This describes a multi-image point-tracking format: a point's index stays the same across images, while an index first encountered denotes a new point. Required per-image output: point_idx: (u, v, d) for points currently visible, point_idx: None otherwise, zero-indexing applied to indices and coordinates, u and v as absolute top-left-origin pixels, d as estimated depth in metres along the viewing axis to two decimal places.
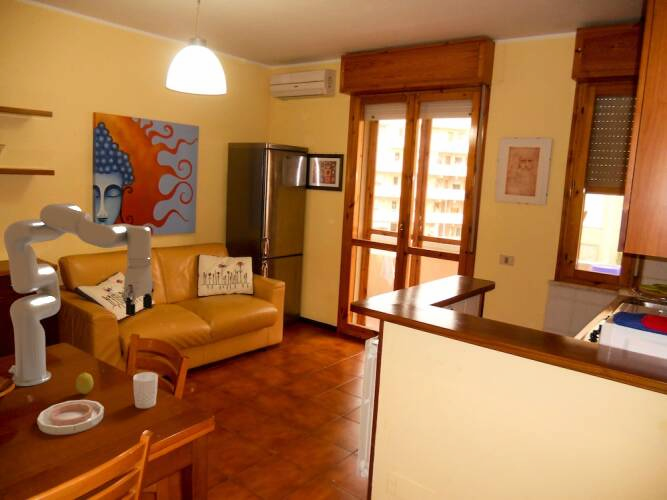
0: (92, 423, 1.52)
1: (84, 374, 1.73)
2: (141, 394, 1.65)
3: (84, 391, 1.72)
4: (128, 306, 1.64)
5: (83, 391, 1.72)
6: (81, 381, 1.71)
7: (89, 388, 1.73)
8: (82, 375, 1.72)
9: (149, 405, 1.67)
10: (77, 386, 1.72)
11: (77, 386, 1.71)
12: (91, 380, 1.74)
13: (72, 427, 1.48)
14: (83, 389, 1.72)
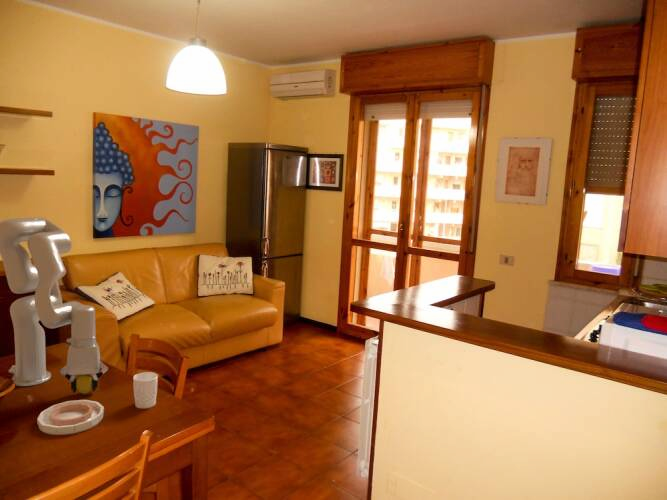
0: (92, 423, 1.52)
1: None
2: (141, 394, 1.65)
3: (84, 391, 1.72)
4: (97, 381, 1.75)
5: (83, 391, 1.72)
6: (81, 381, 1.71)
7: (89, 388, 1.73)
8: (82, 375, 1.72)
9: (149, 405, 1.67)
10: (77, 386, 1.72)
11: (77, 386, 1.71)
12: (91, 380, 1.74)
13: (72, 427, 1.48)
14: (83, 389, 1.72)
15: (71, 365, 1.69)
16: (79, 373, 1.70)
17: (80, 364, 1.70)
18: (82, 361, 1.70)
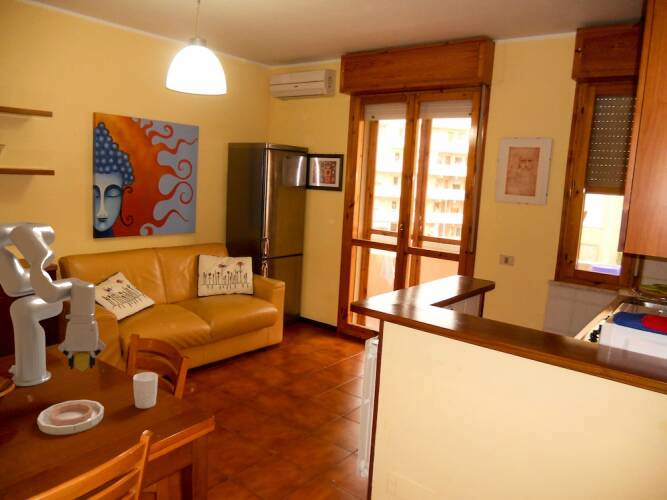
0: (92, 423, 1.52)
1: (82, 351, 1.72)
2: (141, 394, 1.65)
3: (81, 368, 1.71)
4: (95, 358, 1.74)
5: (80, 368, 1.71)
6: (78, 358, 1.70)
7: (87, 365, 1.72)
8: (80, 352, 1.71)
9: (149, 405, 1.67)
10: (75, 363, 1.71)
11: (75, 363, 1.71)
12: (89, 357, 1.73)
13: (72, 427, 1.48)
14: (80, 366, 1.71)
15: (69, 342, 1.68)
16: (77, 350, 1.69)
17: (78, 341, 1.69)
18: (80, 338, 1.69)
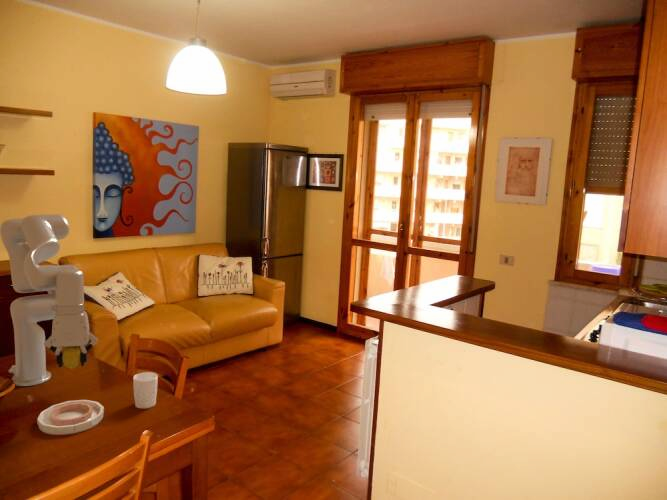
0: (92, 423, 1.52)
1: None
2: (141, 394, 1.65)
3: (71, 365, 1.53)
4: (86, 354, 1.56)
5: (70, 365, 1.53)
6: (67, 354, 1.52)
7: (77, 362, 1.54)
8: (69, 347, 1.53)
9: (149, 405, 1.67)
10: (63, 359, 1.53)
11: (64, 359, 1.52)
12: (79, 353, 1.55)
13: (72, 427, 1.48)
14: (70, 363, 1.53)
15: (56, 336, 1.50)
16: (65, 345, 1.51)
17: (67, 334, 1.51)
18: (69, 331, 1.51)
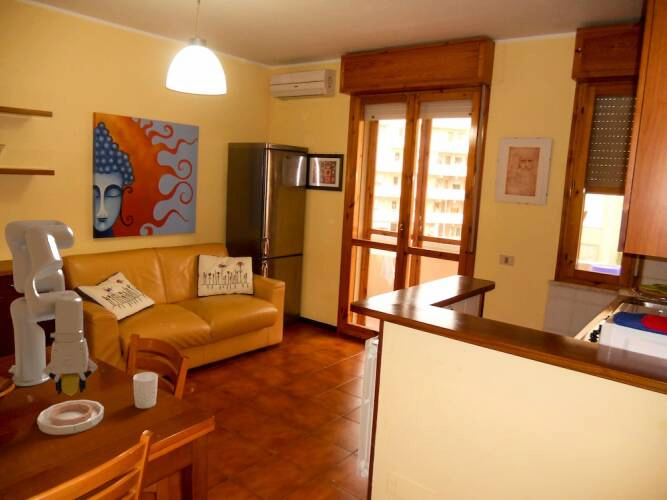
0: (92, 423, 1.52)
1: None
2: (141, 394, 1.65)
3: (70, 392, 1.53)
4: (85, 381, 1.55)
5: (69, 392, 1.52)
6: (66, 381, 1.52)
7: (76, 389, 1.53)
8: (68, 374, 1.53)
9: (149, 405, 1.67)
10: (62, 387, 1.52)
11: (62, 387, 1.52)
12: (78, 380, 1.54)
13: (72, 427, 1.48)
14: (69, 390, 1.52)
15: (55, 363, 1.50)
16: (64, 372, 1.51)
17: (65, 362, 1.50)
18: (68, 358, 1.50)
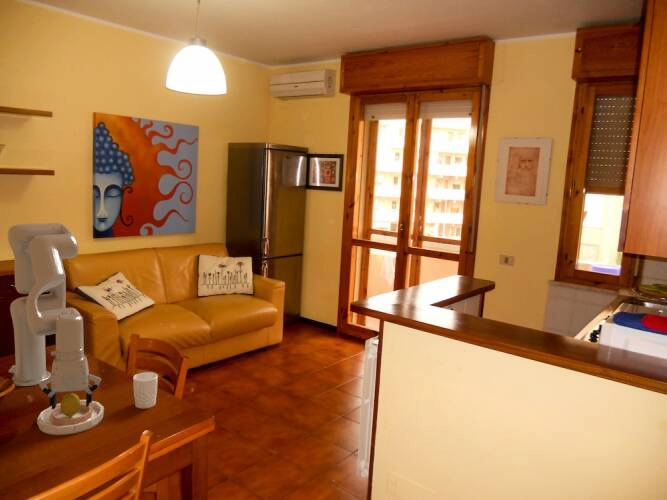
0: (92, 423, 1.52)
1: (70, 395, 1.54)
2: (141, 394, 1.65)
3: (70, 414, 1.54)
4: (91, 395, 1.57)
5: (69, 414, 1.54)
6: (66, 403, 1.53)
7: (75, 410, 1.55)
8: (67, 396, 1.54)
9: (149, 405, 1.67)
10: (62, 408, 1.53)
11: (62, 408, 1.53)
12: (78, 401, 1.55)
13: (72, 427, 1.48)
14: (68, 412, 1.53)
15: (55, 381, 1.50)
16: (65, 390, 1.52)
17: (66, 380, 1.51)
18: (68, 376, 1.51)
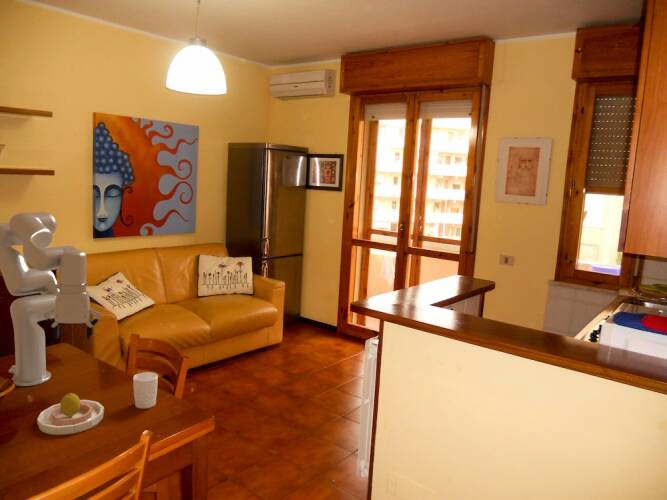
0: (92, 423, 1.52)
1: (70, 395, 1.54)
2: (141, 394, 1.65)
3: (70, 414, 1.54)
4: (92, 328, 1.66)
5: (69, 414, 1.54)
6: (66, 403, 1.53)
7: (75, 410, 1.55)
8: (67, 396, 1.54)
9: (149, 405, 1.67)
10: (62, 408, 1.53)
11: (62, 408, 1.53)
12: (78, 401, 1.55)
13: (72, 427, 1.48)
14: (68, 412, 1.53)
15: (58, 312, 1.59)
16: (67, 321, 1.61)
17: (68, 312, 1.60)
18: (71, 309, 1.60)
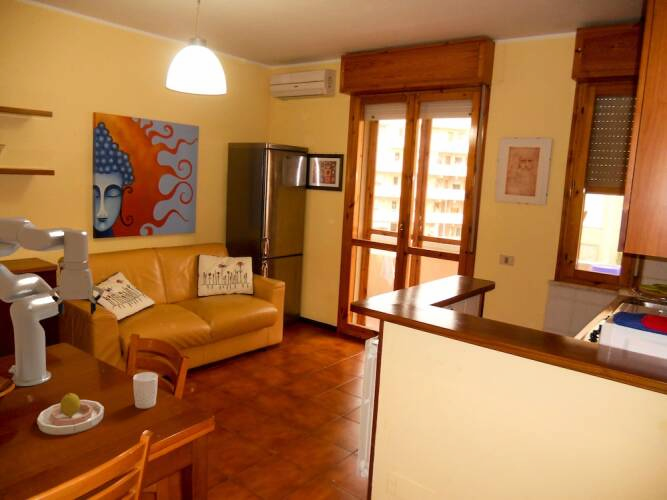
0: (92, 423, 1.52)
1: (70, 395, 1.54)
2: (141, 394, 1.65)
3: (70, 414, 1.54)
4: (95, 304, 1.74)
5: (68, 414, 1.54)
6: (66, 403, 1.53)
7: (75, 410, 1.55)
8: (67, 396, 1.54)
9: (149, 405, 1.67)
10: (62, 408, 1.53)
11: (62, 409, 1.53)
12: (77, 401, 1.55)
13: (72, 427, 1.48)
14: (68, 412, 1.53)
15: (63, 289, 1.68)
16: (72, 297, 1.69)
17: (73, 288, 1.69)
18: (75, 285, 1.69)
